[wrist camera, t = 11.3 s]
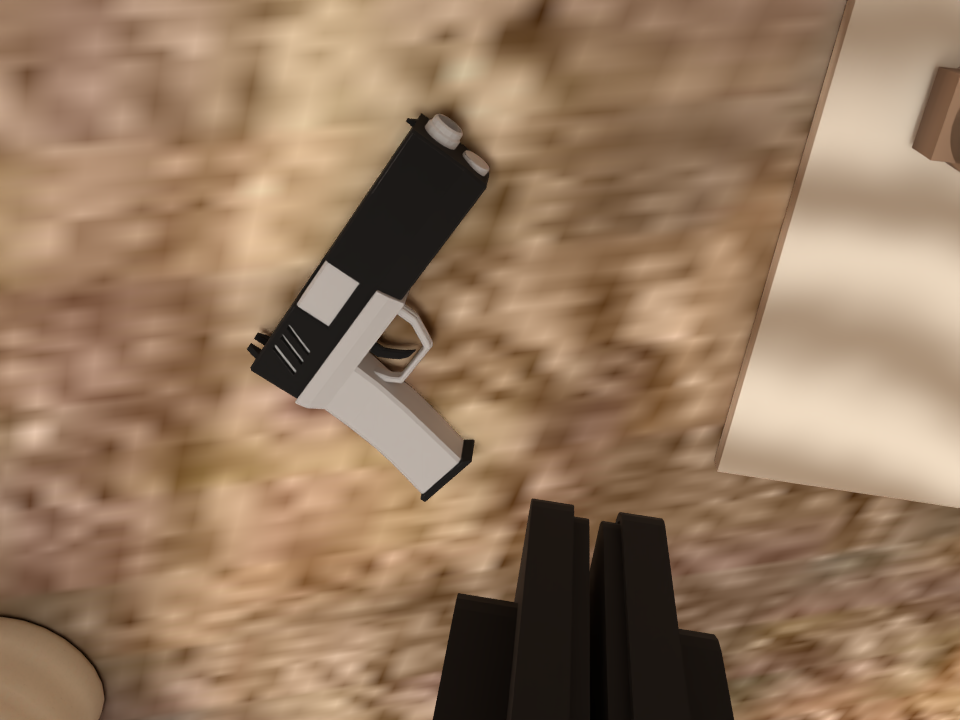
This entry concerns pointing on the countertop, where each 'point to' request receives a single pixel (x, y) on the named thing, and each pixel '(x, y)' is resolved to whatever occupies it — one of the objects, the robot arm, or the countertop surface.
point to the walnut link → (941, 120)
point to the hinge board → (863, 282)
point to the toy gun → (381, 307)
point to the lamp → (45, 676)
